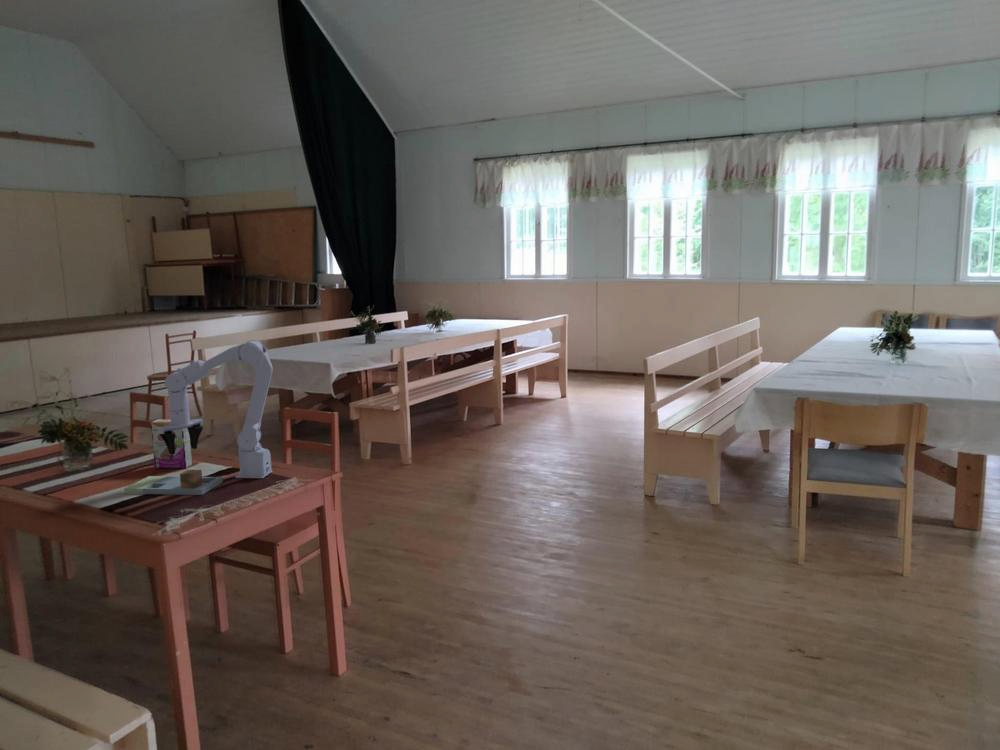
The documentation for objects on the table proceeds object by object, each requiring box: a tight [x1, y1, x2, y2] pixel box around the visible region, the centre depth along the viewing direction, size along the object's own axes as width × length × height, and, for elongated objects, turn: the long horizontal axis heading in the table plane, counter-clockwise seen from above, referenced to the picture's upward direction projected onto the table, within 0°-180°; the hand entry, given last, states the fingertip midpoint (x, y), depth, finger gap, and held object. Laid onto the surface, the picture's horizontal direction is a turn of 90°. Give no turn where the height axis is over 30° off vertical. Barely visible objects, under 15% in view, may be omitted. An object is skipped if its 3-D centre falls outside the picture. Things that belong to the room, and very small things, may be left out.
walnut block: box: [179, 469, 203, 488], centre depth 227 cm, size 4×4×4 cm
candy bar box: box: [150, 418, 193, 470], centre depth 254 cm, size 11×5×16 cm, turn 89°
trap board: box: [123, 475, 224, 496], centre depth 231 cm, size 25×13×2 cm, turn 83°
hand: (183, 451), depth 239 cm, fingers open, 7 cm apart
